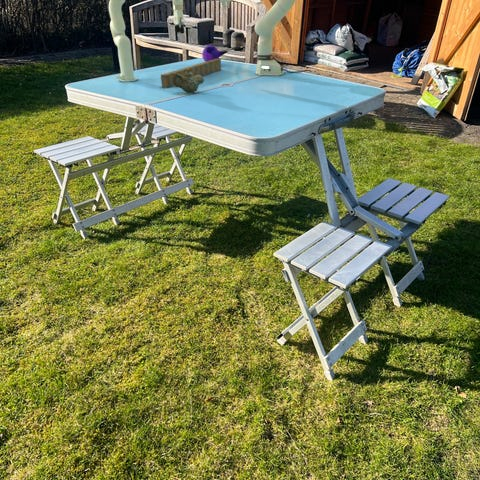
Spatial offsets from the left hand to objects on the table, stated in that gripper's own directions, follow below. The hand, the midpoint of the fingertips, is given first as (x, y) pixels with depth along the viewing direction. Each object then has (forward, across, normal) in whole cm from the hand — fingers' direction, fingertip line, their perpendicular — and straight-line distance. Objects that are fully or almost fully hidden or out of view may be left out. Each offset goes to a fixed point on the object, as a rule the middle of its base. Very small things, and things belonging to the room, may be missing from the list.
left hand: (180, 32), depth 344 cm
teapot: (+31, +64, -18) cm, 73 cm away
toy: (+31, -30, +39) cm, 58 cm away
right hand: (-15, +6, +37) cm, 40 cm away
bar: (+31, +17, +3) cm, 35 cm away
